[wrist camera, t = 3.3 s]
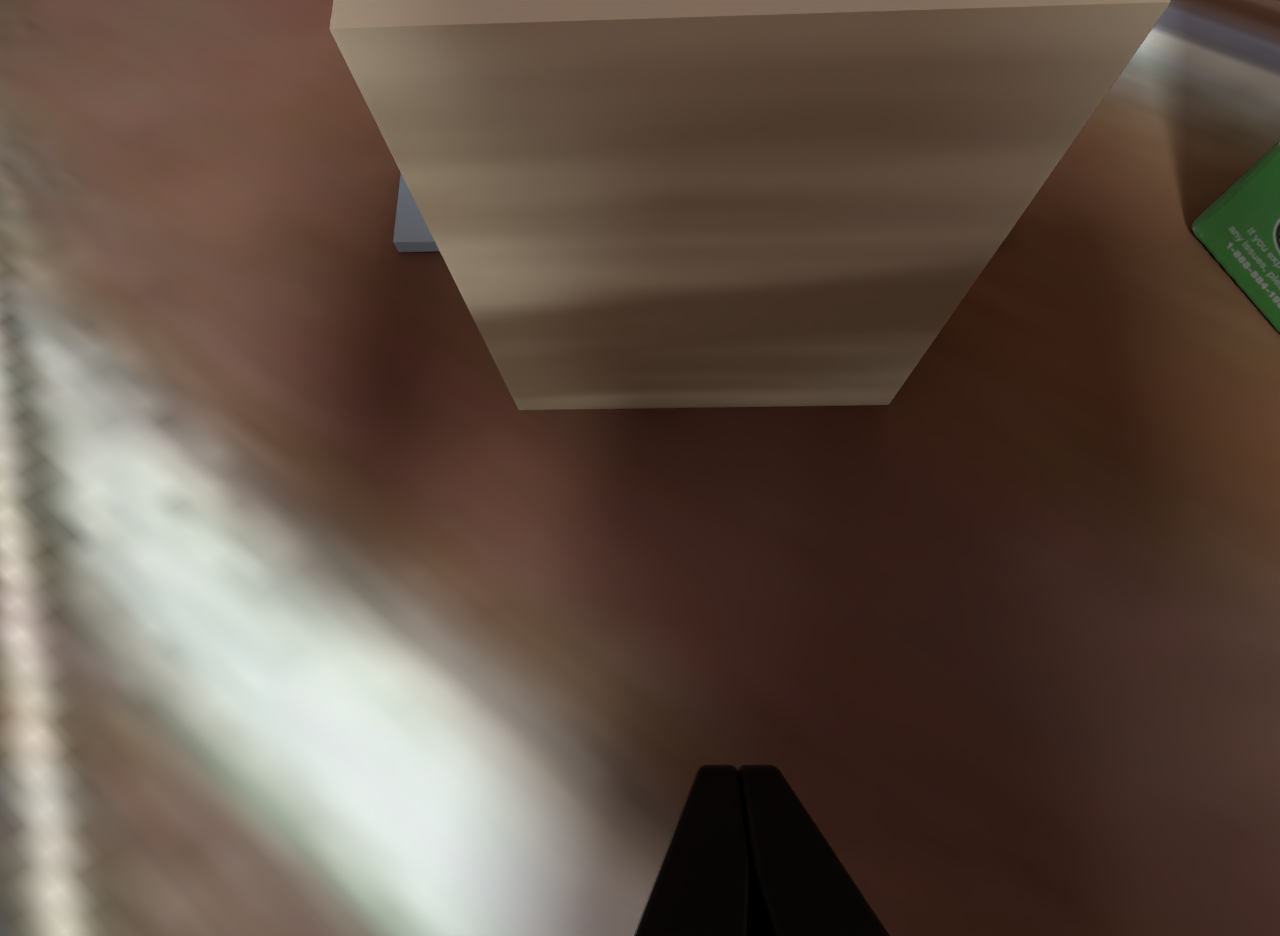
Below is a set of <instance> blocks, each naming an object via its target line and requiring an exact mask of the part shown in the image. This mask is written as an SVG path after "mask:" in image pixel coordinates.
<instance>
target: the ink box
mask: <svg viewBox="0 0 1280 936" xmlns="http://www.w3.org/2000/svg"><path fill="white" fill-rule="evenodd" d="M1192 230H1193V232H1194V234H1195V236H1196V237H1197V238H1198V239H1199V240H1200V241H1201V242H1202V243H1203V244H1204V245H1205V246H1206V247H1207V249H1208V250H1209V252H1210V253H1212V254H1213V256H1214V257H1215V259H1216V260H1217V261H1218V262H1219V263H1220V264H1221V265H1222V266H1223V268H1224V269H1225V271H1226V272H1227V273H1228V274H1229V275H1230V276H1231V277H1232V278H1233V279H1234V280H1235V282H1236V283H1237V285H1238V286H1239V287H1240V288H1241V289H1242V290H1243V291H1244V292H1245V293H1246V294H1247V296H1248V297H1249V298H1250V299H1251V300H1252V302H1253V303H1254V304H1255V305H1256V306H1257V307H1258V309H1259V310H1260V311H1261V312H1262V313H1263V314H1264V316H1265V317H1266V318H1267V319H1268V320H1269V321H1270V323H1271V324H1272V325H1273V326H1274V328H1275V329H1276V330H1277V331H1278V332H1279V333H1280V141H1279V142H1278V143H1277V144H1276V145H1275V146H1274V147H1273V148H1271V149H1270V150H1269V151H1268V152H1267V153H1266V154H1265V155H1264V156H1263V157H1262V158H1261V159H1260V160H1259V161H1258V162H1256V163H1255V164H1254V165H1253V166H1252V167H1251V168H1250V169H1249V170H1248V171H1247V172H1246V173H1245V174H1244V175H1243V176H1241V177H1240V178H1239V179H1238V180H1237V181H1236V182H1235V183H1234V184H1233V185H1232V186H1231V187H1230V188H1229V189H1228V190H1226V191H1225V192H1224V193H1223V194H1222V195H1221V196H1220V197H1219V198H1217V199H1216V200H1215V201H1214V202H1213V203H1212V204H1211V205H1210V206H1209V207H1207V208H1206V209H1205V210H1204V211H1203V212H1202V213H1201V214H1200V215H1199V216H1198V217H1197V218H1196V219H1195V221H1194V222H1193V224H1192Z"/></svg>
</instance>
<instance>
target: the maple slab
mask: <svg viewBox="0 0 1280 936" xmlns="http://www.w3.org/2000/svg"><path fill="white" fill-rule="evenodd" d="M1170 3H1171V0H334V2H333V9H332V15H331V22H330V28H329V29H330V31H331V33H332V35H333V37H334V39H335V41H336V43H337V45H338V47H339V49H340V51H341V53H342V55H343V57H344V59H345V61H346V63H347V65H348V67H349V69H350V71H351V73H352V75H353V77H354V79H355V81H356V83H357V85H358V87H359V89H360V91H361V93H362V95H363V97H364V99H365V101H366V103H367V105H368V107H369V109H370V111H371V113H372V115H373V117H374V119H375V122H376V124H377V126H378V128H379V130H380V132H381V134H382V136H383V138H384V140H385V142H386V144H387V146H388V148H389V150H390V152H391V154H392V156H393V158H394V160H395V162H396V164H397V166H398V168H399V170H400V172H401V174H402V176H403V178H404V180H405V182H406V184H407V186H408V188H409V190H410V192H411V194H412V196H413V198H414V200H415V202H416V204H417V206H418V208H419V210H420V212H421V214H422V216H423V218H424V220H425V222H426V224H427V226H428V228H429V230H430V232H431V234H432V236H433V238H434V241H435V243H436V245H437V247H438V249H439V251H440V253H441V255H442V257H443V259H444V261H445V263H446V265H447V267H448V269H449V271H450V273H451V275H452V277H453V279H454V281H455V283H456V285H457V287H458V289H459V291H460V293H461V295H462V297H463V299H464V301H465V303H466V305H467V307H468V309H469V311H470V313H471V315H472V317H473V319H474V321H475V323H476V325H477V327H478V329H479V331H480V333H481V335H482V337H483V339H484V341H485V343H486V345H487V347H488V349H489V351H490V353H491V355H492V358H493V360H494V362H495V364H496V366H497V368H498V370H499V372H500V374H501V376H502V378H503V380H504V382H505V384H506V386H507V388H508V390H509V392H510V394H511V396H512V398H513V400H514V402H515V404H516V406H517V408H518V410H561V409H631V408H702V407H773V406H843V405H889V404H890V402H891V401H892V400H893V398H894V397H895V395H896V394H897V392H898V391H899V390H900V388H901V387H902V385H903V384H904V382H905V381H906V380H907V378H908V377H909V375H910V374H911V372H912V371H913V370H914V368H915V367H916V365H917V364H918V362H919V361H920V360H921V358H922V357H923V355H924V354H925V352H926V351H927V350H928V348H929V347H930V345H931V344H932V342H933V341H934V340H935V338H936V337H937V335H938V334H939V332H940V331H941V330H942V328H943V327H944V325H945V324H946V322H947V321H948V320H949V318H950V317H951V315H952V314H953V312H954V311H955V310H956V308H957V307H958V305H959V304H960V302H961V301H962V300H963V298H964V297H965V295H966V294H967V292H968V291H969V290H970V288H971V287H972V285H973V284H974V282H975V281H976V280H977V278H978V277H979V275H980V274H981V272H982V271H983V270H984V268H985V267H986V265H987V264H988V262H989V261H990V260H991V258H992V257H993V255H994V254H995V252H996V251H997V250H998V248H999V247H1000V245H1001V244H1002V242H1003V241H1004V240H1005V238H1006V237H1007V235H1008V234H1009V232H1010V231H1011V230H1012V228H1013V227H1014V225H1015V224H1016V222H1017V221H1018V220H1019V218H1020V217H1021V215H1022V214H1023V212H1024V211H1025V210H1026V208H1027V207H1028V205H1029V204H1030V202H1031V201H1032V200H1033V198H1034V197H1035V195H1036V194H1037V192H1038V191H1039V190H1040V188H1041V187H1042V185H1043V184H1044V182H1045V181H1046V180H1047V178H1048V177H1049V175H1050V174H1051V172H1052V171H1053V170H1054V168H1055V167H1056V165H1057V164H1058V163H1059V161H1060V160H1061V158H1062V157H1063V155H1064V154H1065V153H1066V151H1067V150H1068V148H1069V147H1070V145H1071V144H1072V143H1073V141H1074V140H1075V138H1076V137H1077V135H1078V134H1079V133H1080V131H1081V130H1082V128H1083V127H1084V125H1085V124H1086V123H1087V121H1088V120H1089V118H1090V117H1091V115H1092V114H1093V113H1094V111H1095V110H1096V108H1097V107H1098V105H1099V104H1100V103H1101V101H1102V100H1103V98H1104V97H1105V95H1106V94H1107V93H1108V91H1109V90H1110V88H1111V87H1112V85H1113V84H1114V83H1115V81H1116V80H1117V78H1118V77H1119V75H1120V74H1121V73H1122V71H1123V70H1124V68H1125V67H1126V65H1127V64H1128V63H1129V61H1130V60H1131V58H1132V57H1133V55H1134V54H1135V53H1136V51H1137V50H1138V48H1139V47H1140V45H1141V44H1142V43H1143V41H1144V40H1145V38H1146V37H1147V35H1148V34H1149V33H1150V31H1151V30H1152V28H1153V27H1154V25H1155V24H1156V23H1157V21H1158V20H1159V18H1160V17H1161V15H1162V14H1163V13H1164V11H1165V10H1166V8H1167V7H1168V5H1169V4H1170Z"/></svg>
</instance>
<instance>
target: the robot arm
mask: <svg viewBox="0 0 1280 936" xmlns="http://www.w3.org/2000/svg"><path fill="white" fill-rule="evenodd" d="M634 936H890V935H889V934H888V932H887V931H886V929H885V928H884V926H883V925H882V923H881V922H880V920H879V919H878V917H877V916H876V914H875V913H874V911H873V910H872V908H871V907H870V905H869V904H868V902H867V901H866V899H865V898H864V896H863V895H862V893H861V892H860V890H859V889H858V887H857V886H856V884H855V883H854V881H853V880H852V878H851V877H850V875H849V874H848V872H847V871H846V869H845V868H844V866H843V865H842V863H841V862H840V860H839V859H838V857H837V856H836V854H835V853H834V851H833V850H832V848H831V847H830V845H829V844H828V842H827V841H826V839H825V838H824V836H823V835H822V833H821V832H820V830H819V829H818V827H817V826H816V824H815V823H814V821H813V820H812V818H811V817H810V815H809V814H808V812H807V811H806V809H805V808H804V806H803V805H802V803H801V802H800V800H799V799H798V797H797V796H796V794H795V793H794V791H793V790H792V788H791V787H790V785H789V784H788V782H787V781H786V779H785V778H784V776H783V775H782V773H781V772H780V770H779V769H778V768H777V767H775V766H773V765H743V766H741V767H740V768H739V769H738V771H737V769H736V767H734V766H733V765H703V766H701V767H700V768H699V769H698V771H697V773H696V775H695V778H694V781H693V783H692V786H691V788H690V791H689V793H688V796H687V799H686V801H685V804H684V806H683V809H682V812H681V814H680V817H679V819H678V822H677V825H676V827H675V830H674V832H673V835H672V838H671V840H670V843H669V845H668V848H667V851H666V853H665V856H664V858H663V861H662V864H661V866H660V869H659V871H658V874H657V877H656V879H655V882H654V884H653V887H652V890H651V892H650V895H649V897H648V900H647V903H646V905H645V908H644V910H643V913H642V916H641V918H640V921H639V923H638V926H637V929H636V931H635V934H634Z"/></svg>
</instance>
